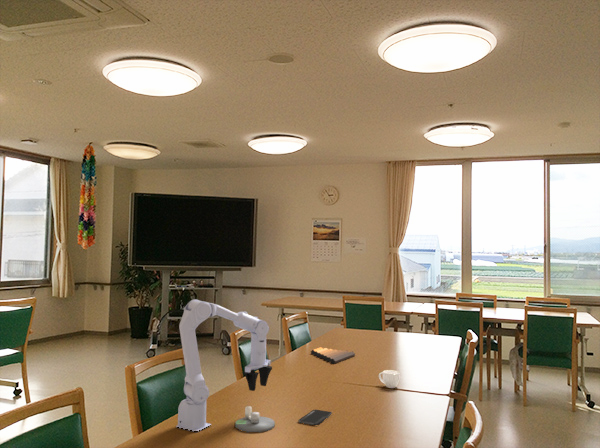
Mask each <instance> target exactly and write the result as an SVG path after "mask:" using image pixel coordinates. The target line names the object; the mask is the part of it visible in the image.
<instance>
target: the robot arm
mask: <svg viewBox="0 0 600 448" xmlns="http://www.w3.org/2000/svg"><path fill="white" fill-rule="evenodd" d="M215 316H218V317H221V318H223V319H226V320H229V321H232V323H233V325H234V327H237V328H239V329H242V330H243V331H247V332H249V333H250V335H251V336H250V363H249V364H247V365H246V366H244V370H243V375H244V377H245V379H246V381H247V385H248V390H249V391H252V392H254V391H255V390H256V386H257V380H258V376H259V384H260V386H262V387H266V386H267V383H268V379H269V375H270V374H271V371H272V370H273V366H271V365H272V364H271V363H272V362H271V361H272V360H271V359H267V335H268V334H269V331H270V327H269V324H268V322H267V321H266V320H264V319H259V317H258V316H255V315H250V314H248V312H247V311H244V310H243V311H238V312H234V311H231V310H230V309H228V308H226V307H224V306H222V305H220V304H216V303H212V302H207V301H204V300H203V301H202V300H199V299H196V298H195V299H192V300H190V301H188V302H187V304H186V305H185V306H184V307H183V314H182V317H181V319H180V322H179V325H178V326H179V329H178V330H179V334H180V342H181V346H182V347H181V348H182V354H183V361H184V367H185V374H186V375H185V377H184V386H183V393H184V395H185V396H186V397H185V399H183V400H181V401H180V403H179V405H178V409H177V411H178V413H177V425H175V428H177V427H179V428H178V429H181V428H183V429H182V430H185V429H188V430H187V431H190V430H192V431H191V432H194V431H198V432H200V431H202V429H203V430H205V429H206V427H207V428H208V426H209V427H211V426H212V424H211V423H208V422H207V400H208V399H209V396H210V390H209V387H208V386H207V385H206V380H205V378H204V376H203V374H202V368H201V361H200V360H201V359H200V354H199V347H198V341H197V336H196V335H197V334H196V329H197V328H198V326H199V325H200V324H201V323H203V322H204V321H206V320H207V319H208V318H210V317H211V318H213V317H215ZM255 370H258V372H257V371H255ZM210 425H211V426H210ZM204 428H205V429H204ZM199 430H200V431H199Z"/></svg>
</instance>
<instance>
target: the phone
mask: <svg viewBox="0 0 600 448" xmlns="http://www.w3.org/2000/svg"><path fill="white" fill-rule="evenodd" d="M331 414H332V415H333V413H332V411H329V410H327V411H326V410H321V409H320V410H319V409H313V410H311V411H310V412H308V413H307V414H305V415H304V416H302V417H300V418H299V419H298V422H299V424H301V423H304V424H303V425H306V424H309V425H308V426H312V425H318V426H320V425H321V424H322V423H323V422H325V421H326V420H327V419H329V418H330V417H331V416H332V415H331ZM330 415H331V416H330ZM329 416H330V417H329ZM326 418H327V419H326ZM325 419H326V420H325ZM324 420H325V421H324ZM320 423H321V424H320Z"/></svg>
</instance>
